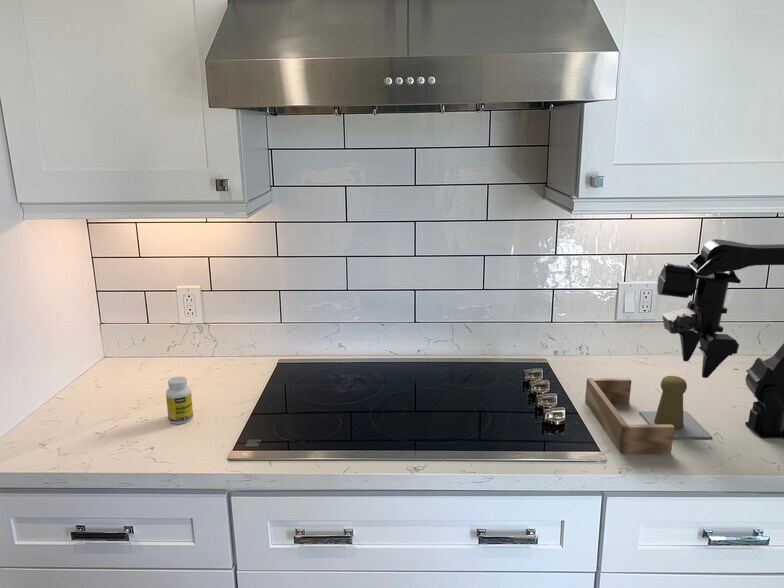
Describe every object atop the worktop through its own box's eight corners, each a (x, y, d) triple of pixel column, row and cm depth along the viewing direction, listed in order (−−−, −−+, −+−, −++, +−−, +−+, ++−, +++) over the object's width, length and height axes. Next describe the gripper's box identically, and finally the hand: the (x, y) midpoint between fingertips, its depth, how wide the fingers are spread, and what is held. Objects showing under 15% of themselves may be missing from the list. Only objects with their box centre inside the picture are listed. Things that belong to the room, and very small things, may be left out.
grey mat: (686, 412, 145) (686, 411, 145) (712, 438, 133) (712, 436, 133) (639, 412, 145) (639, 411, 145) (660, 438, 133) (660, 437, 133)
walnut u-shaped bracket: (627, 401, 151) (629, 378, 149) (671, 453, 127) (674, 427, 126) (585, 401, 151) (587, 378, 149) (621, 454, 127) (623, 427, 126)
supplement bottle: (176, 427, 139) (172, 386, 136) (164, 419, 143) (159, 380, 140) (198, 418, 143) (194, 379, 140) (185, 411, 146) (181, 372, 144)
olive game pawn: (666, 431, 135) (672, 385, 132) (648, 419, 141) (653, 374, 138) (689, 428, 137) (696, 381, 134) (671, 415, 143) (677, 371, 140)
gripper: (653, 286, 140) (642, 351, 145) (690, 311, 122) (676, 384, 127) (703, 289, 140) (689, 354, 145) (747, 314, 122) (730, 387, 127)
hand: (694, 369), depth 136 cm, fingers open, 9 cm apart
